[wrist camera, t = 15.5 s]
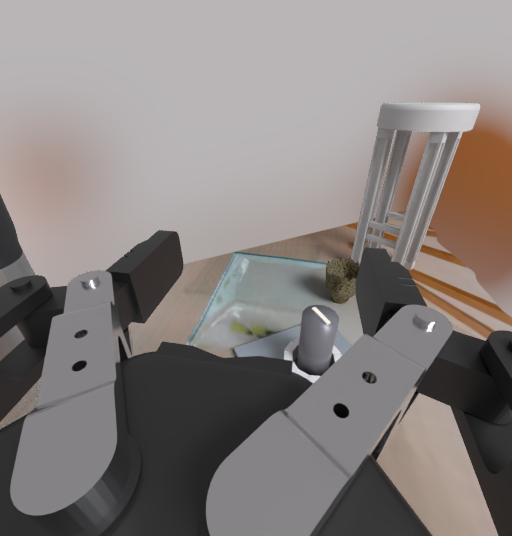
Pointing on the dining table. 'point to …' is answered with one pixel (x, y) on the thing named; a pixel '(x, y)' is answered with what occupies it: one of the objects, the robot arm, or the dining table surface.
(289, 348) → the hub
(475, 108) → the stool
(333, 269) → the cup
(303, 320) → the grey cylinder with tab
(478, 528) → the dining table surface
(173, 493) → the robot arm
